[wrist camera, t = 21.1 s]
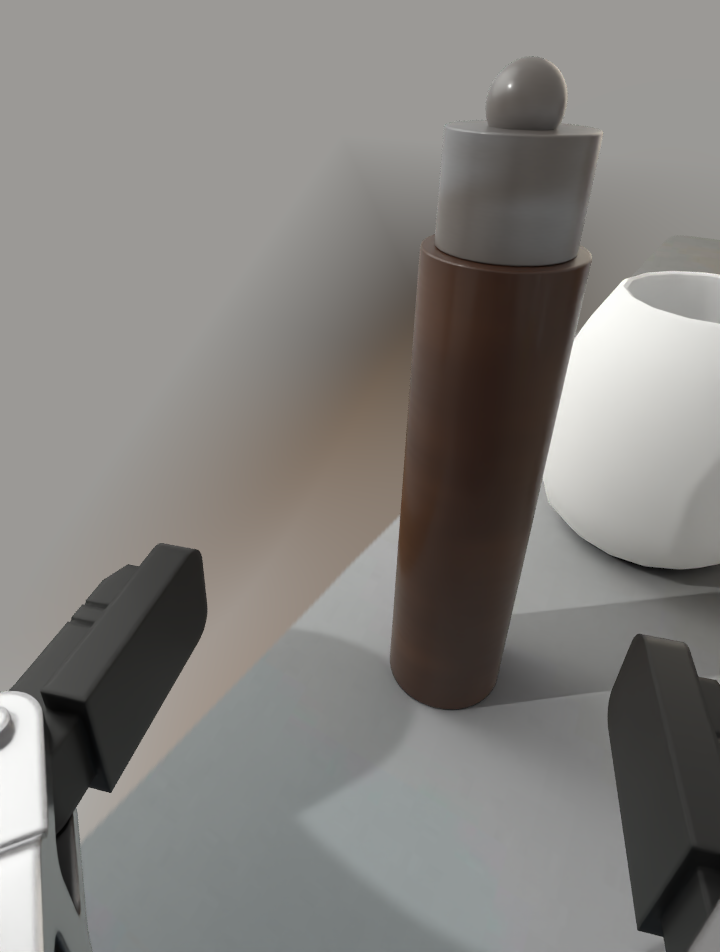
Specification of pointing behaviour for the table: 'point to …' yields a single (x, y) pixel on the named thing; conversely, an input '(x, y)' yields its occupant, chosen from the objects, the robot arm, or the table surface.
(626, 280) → the cup
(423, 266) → the pepper mill
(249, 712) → the table surface
